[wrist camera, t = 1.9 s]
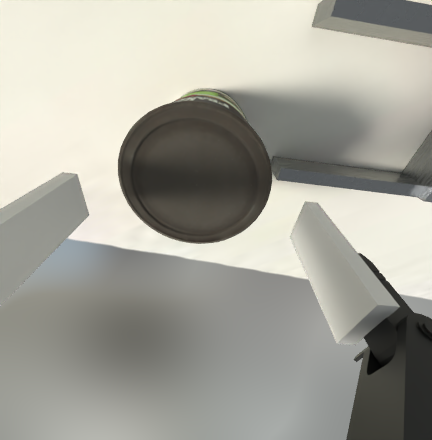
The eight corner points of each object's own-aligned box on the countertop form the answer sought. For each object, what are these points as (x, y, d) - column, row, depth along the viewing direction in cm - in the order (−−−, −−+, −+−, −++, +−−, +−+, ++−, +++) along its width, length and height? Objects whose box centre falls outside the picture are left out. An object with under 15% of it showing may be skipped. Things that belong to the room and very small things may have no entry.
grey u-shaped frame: (318, 4, 18) (347, -18, 14) (512, 39, 19) (590, 28, 15) (270, 167, 27) (279, 183, 23) (404, 184, 28) (435, 202, 24)
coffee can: (151, 102, 23) (82, 128, 11) (240, 76, 21) (264, 75, 10) (181, 183, 29) (155, 253, 17) (252, 167, 27) (277, 232, 16)
